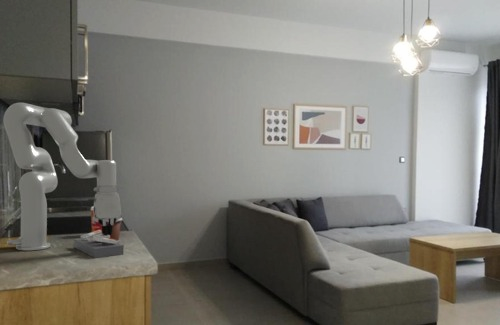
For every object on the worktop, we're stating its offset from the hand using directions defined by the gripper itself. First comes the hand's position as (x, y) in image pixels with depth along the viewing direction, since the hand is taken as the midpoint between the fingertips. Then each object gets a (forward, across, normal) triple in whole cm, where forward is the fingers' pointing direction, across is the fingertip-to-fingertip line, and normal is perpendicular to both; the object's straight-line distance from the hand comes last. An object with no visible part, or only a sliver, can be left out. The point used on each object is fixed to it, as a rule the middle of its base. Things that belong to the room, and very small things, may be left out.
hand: (107, 234), depth 170 cm
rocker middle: (+1, -4, 0) cm, 4 cm away
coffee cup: (+6, +9, +16) cm, 19 cm away
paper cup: (+6, +10, +35) cm, 37 cm away
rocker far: (+1, -3, +7) cm, 8 cm away
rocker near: (+1, -4, -7) cm, 8 cm away
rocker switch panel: (+6, -4, 0) cm, 7 cm away
